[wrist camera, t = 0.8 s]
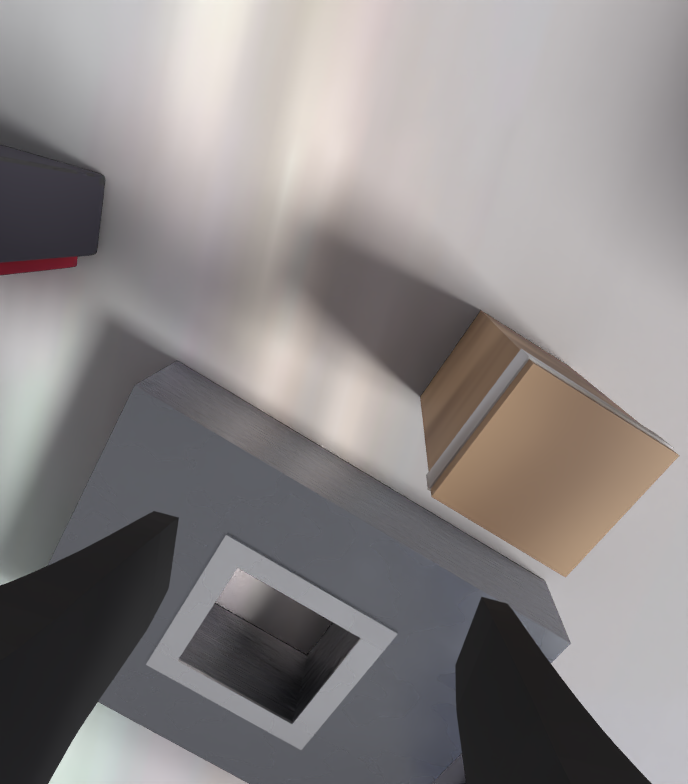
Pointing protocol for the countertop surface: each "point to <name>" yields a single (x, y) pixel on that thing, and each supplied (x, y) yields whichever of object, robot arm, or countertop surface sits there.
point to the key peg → (533, 447)
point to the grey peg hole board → (292, 595)
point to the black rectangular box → (46, 212)
